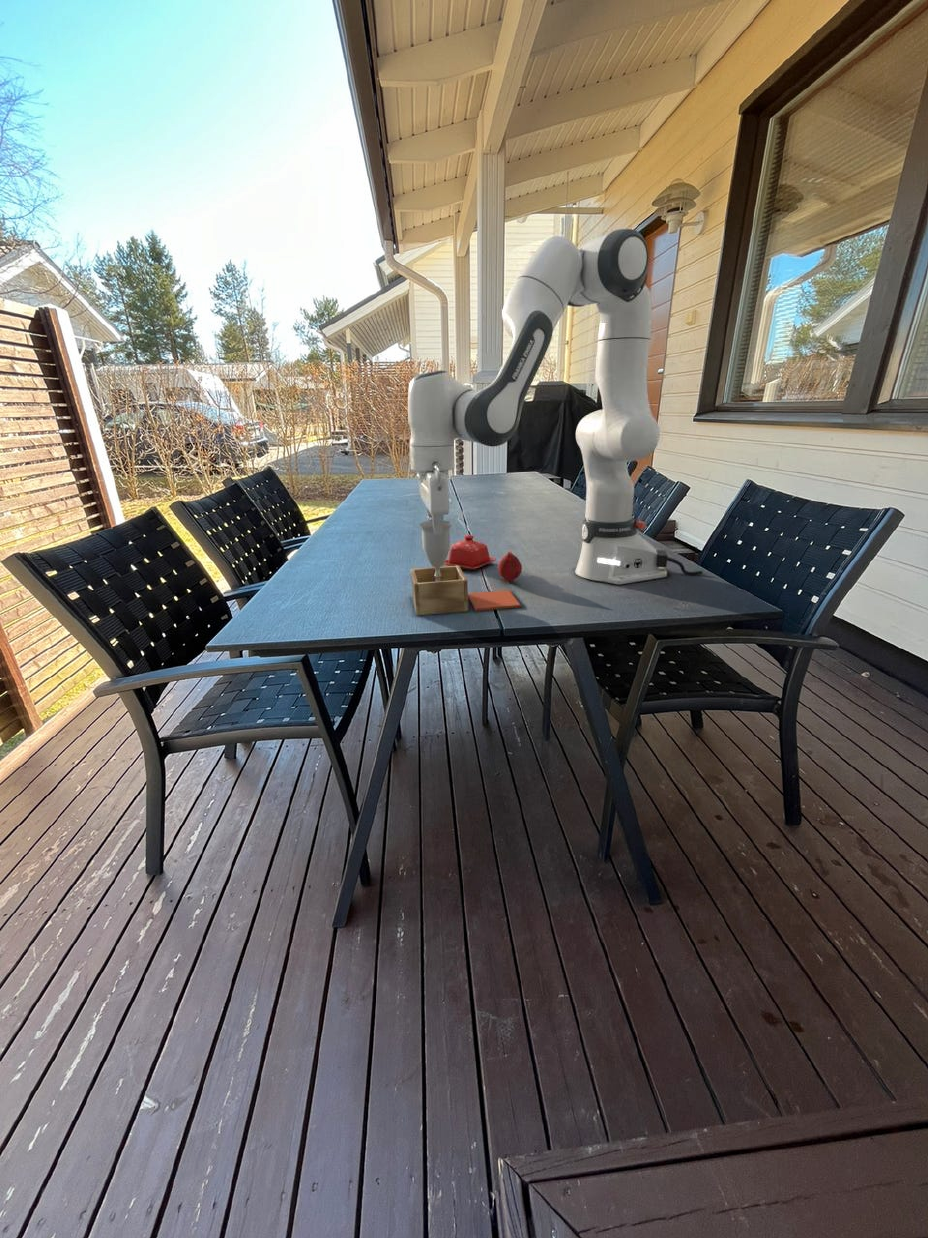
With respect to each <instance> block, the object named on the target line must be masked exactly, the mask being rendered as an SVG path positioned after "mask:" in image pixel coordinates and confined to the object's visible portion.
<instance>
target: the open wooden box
mask: <svg viewBox="0 0 928 1238" xmlns="http://www.w3.org/2000/svg"><path fill="white" fill-rule="evenodd" d="M435 573H436V569H435V567H433V566H431V567H419V568H418V567H417V568H410V583H411V584H410V586H411V596H412V597H411V598H412V603H413V608H414V610H415V615H416V616H428V615H439V614H451V613H460V612H461V613H463V612H468V611H469V598H468V593H469V589H468V588H469V587H468V584H469V583H468V578H467V577H466V575H465V574H464V572H463V569H462V568H460V567H459V565H458V566H450V565H445V566H441V567H440V574H441V577H440V581H436V577H435V576H434V575H435Z"/></svg>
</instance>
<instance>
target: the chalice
mask: <svg viewBox="0 0 928 1238" xmlns="http://www.w3.org/2000/svg"><path fill="white" fill-rule="evenodd" d="M419 527H420V529H421V535H422V536H421V539H422V549H423V551H424V554H425V557H426V559H427V560H428V562H429V563H430V566H431V567H435V569H436V573H435V575H434V576H435V577H436V581H440V577H441V574H440V567H444V565H445V564H444V563H445V561H446V560H447V558H448V557H449V553H450V549H451V527H452V522H451V521H450V520H449V521H448V520H443V533H442V534H441V535H435V534H434V532H433V521H428V520H427V521H423V522H421V523H419Z"/></svg>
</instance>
